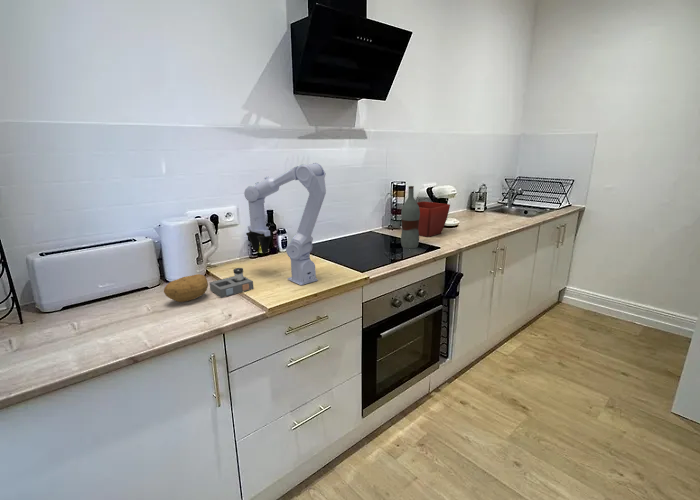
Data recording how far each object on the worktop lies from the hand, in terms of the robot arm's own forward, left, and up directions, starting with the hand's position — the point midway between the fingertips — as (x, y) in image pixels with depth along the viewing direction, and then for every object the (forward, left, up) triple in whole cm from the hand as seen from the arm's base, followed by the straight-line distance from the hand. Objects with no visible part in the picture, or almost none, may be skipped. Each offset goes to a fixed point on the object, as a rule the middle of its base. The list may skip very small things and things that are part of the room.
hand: (260, 251), depth 147 cm
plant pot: (-1, -103, -10) cm, 104 cm away
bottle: (-13, -75, -10) cm, 77 cm away
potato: (-6, +31, -10) cm, 33 cm away
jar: (-7, +13, -10) cm, 18 cm away
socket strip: (-7, +16, -10) cm, 20 cm away
